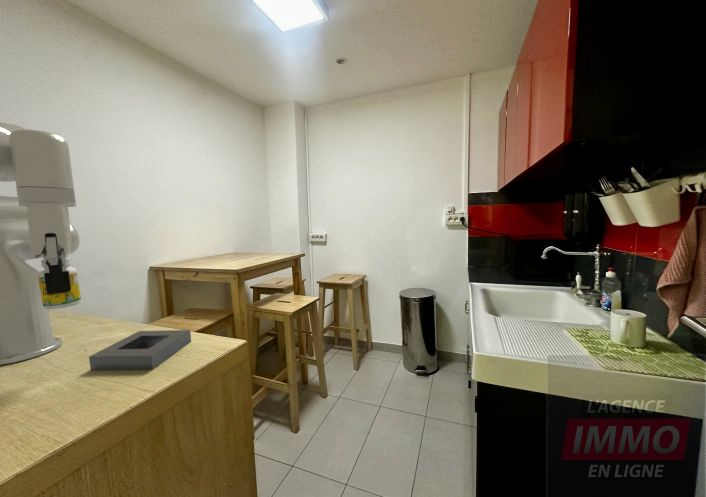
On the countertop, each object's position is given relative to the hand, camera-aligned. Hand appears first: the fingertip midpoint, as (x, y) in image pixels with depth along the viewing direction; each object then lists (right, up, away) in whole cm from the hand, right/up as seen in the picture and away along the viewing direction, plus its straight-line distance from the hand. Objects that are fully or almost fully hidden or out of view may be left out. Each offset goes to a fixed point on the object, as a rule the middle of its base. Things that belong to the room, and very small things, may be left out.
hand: (60, 288), depth 55 cm
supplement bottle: (0, -4, 0) cm, 4 cm away
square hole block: (+12, -16, +7) cm, 21 cm away
